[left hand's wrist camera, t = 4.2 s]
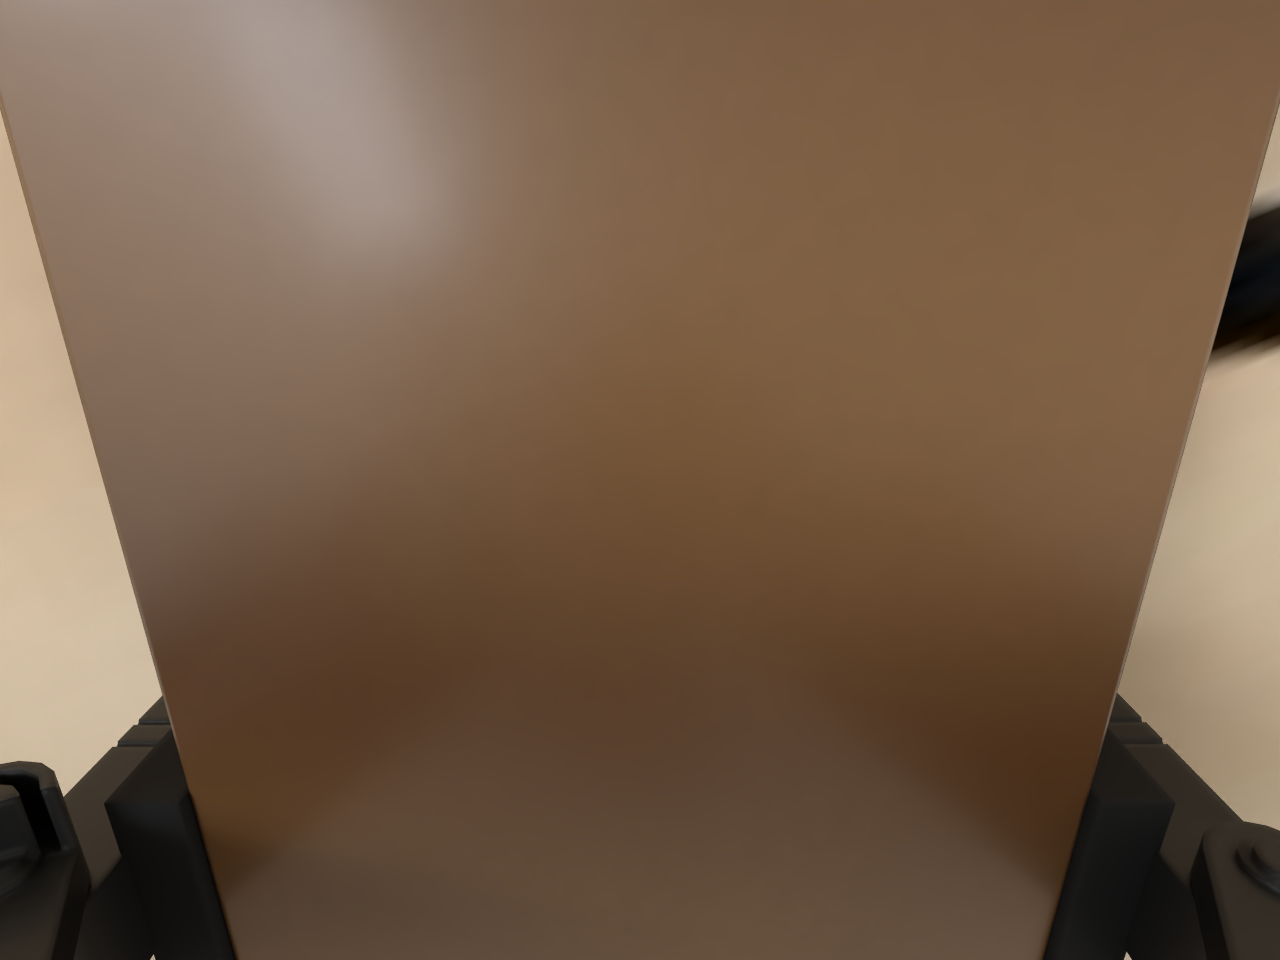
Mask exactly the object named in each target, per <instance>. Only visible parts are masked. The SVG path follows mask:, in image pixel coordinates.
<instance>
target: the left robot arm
mask: <svg viewBox="0 0 1280 960" xmlns="http://www.w3.org/2000/svg"><path fill="white" fill-rule="evenodd" d="M1126 951H1127V953H1128V954H1129V956H1130V957H1131V959H1132V960H1280V831H1279V830H1276V829H1274V828H1271V827H1269V826H1266V825H1260V824H1255V823H1250V822H1244V821H1242V820H1241V819H1240V818H1239V817H1238V816H1237V814H1236V813H1235V812H1234V811H1233V810H1232V809H1231V808H1230V807H1229V806H1228V805H1227V804H1226V803H1225V802H1224V801H1223V800H1222V799H1221V798H1220V797H1219V796H1218V795H1217V794H1216V793H1215V792H1214V791H1213V790H1212V789H1211V788H1210V787H1209V786H1208V785H1207V784H1206V783H1205V782H1204V781H1203V780H1202V779H1201V778H1200V777H1199V776H1198V775H1197V774H1196V773H1195V772H1194V771H1193V770H1192V769H1191V768H1190V767H1189V766H1188V765H1187V764H1186V763H1185V761H1184V760H1183V759H1182V758H1181V757H1180V756H1179V755H1178V754H1177V753H1176V752H1175V751H1174V750H1173V749H1172V748H1171V747H1170V746H1169V745H1168V744H1163V742H1162V738H1161V737H1160V736H1159V735H1158V734H1157V733H1156V732H1155V731H1154V730H1153V729H1152V728H1151V727H1150V726H1149V725H1148V724H1147V723H1146V722H1142V721H1141V717H1140V716H1139V715H1138V714H1137V713H1136V712H1135V710H1134V709H1133V708H1132V707H1131V706H1130V705H1129V704H1128V703H1127V702H1126V701H1125V700H1124V699H1123V698H1122V697H1121V696H1120V695H1119V694H1118V693H1117V694H1116V698H1115V701H1114V705H1113V709H1112V712H1111V716H1110V719H1109V723H1108V727H1107V730H1106V734H1105V738H1104V741H1103V745H1102V748H1101V752H1100V756H1099V759H1098V763H1097V767H1096V770H1095V774H1094V777H1093V781H1092V785H1091V788H1090V792H1089V796H1088V799H1087V803H1086V806H1085V810H1084V814H1083V817H1082V821H1081V825H1080V828H1079V832H1078V835H1077V839H1076V843H1075V846H1074V850H1073V854H1072V857H1071V861H1070V864H1069V868H1068V872H1067V875H1066V879H1065V882H1064V886H1063V890H1062V893H1061V897H1060V901H1059V904H1058V908H1057V911H1056V915H1055V919H1054V922H1053V926H1052V930H1051V933H1050V937H1049V940H1048V944H1047V948H1046V951H1045V955H1044V959H1043V960H1124V957H1125V954H1126ZM153 954H154V956H155V959H156V960H236V958H235V954H234V951H233V947H232V944H231V940H230V936H229V933H228V929H227V925H226V922H225V918H224V915H223V911H222V907H221V904H220V900H219V897H218V893H217V889H216V886H215V882H214V879H213V875H212V871H211V868H210V864H209V861H208V857H207V853H206V850H205V846H204V843H203V839H202V835H201V832H200V828H199V824H198V821H197V817H196V814H195V810H194V806H193V803H192V799H191V796H190V792H189V788H188V785H187V781H186V778H185V774H184V770H183V767H182V763H181V760H180V756H179V752H178V749H177V745H176V741H175V738H174V734H173V731H172V727H171V723H170V720H169V716H168V713H167V709H166V705H165V702H164V698H163V696H162V697H161V698H160V699H159V700H158V701H157V702H156V703H155V704H154V705H153V706H152V707H151V708H150V709H149V710H148V711H147V712H146V713H145V714H144V715H143V716H142V717H141V718H140V719H139V724H138V725H133V726H132V727H131V728H130V730H129V731H128V732H127V733H126V734H125V735H124V736H123V737H122V738H121V739H120V740H119V741H118V745H117V747H112V748H111V749H110V750H109V751H108V752H107V753H106V754H105V755H104V756H103V757H102V758H101V759H100V760H99V761H98V762H97V763H96V764H95V765H94V766H93V767H92V769H91V770H90V771H89V772H88V773H87V774H86V775H85V776H84V777H83V778H82V779H81V780H80V781H79V782H78V783H77V784H76V785H75V786H74V787H73V788H72V789H71V790H70V791H69V792H68V793H67V794H66V795H65V796H64V797H63V795H62V792H61V789H60V786H59V784H58V781H57V778H56V775H55V772H54V771H53V770H51V769H50V768H48V767H47V766H45V765H44V764H42V763H37V762H25V761H16V762H11V763H5V764H0V960H150V959H151V957H152V956H153Z"/></svg>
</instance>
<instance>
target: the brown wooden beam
mask: <svg viewBox="0 0 1280 960" xmlns="http://www.w3.org/2000/svg"><path fill="white" fill-rule="evenodd" d="M1279 104H1280V0H0V110H1V114H2V117H3V121H4V124H5V128H6V132H7V135H8V139H9V143H10V146H11V150H12V153H13V157H14V161H15V164H16V168H17V171H18V175H19V179H20V182H21V186H22V189H23V193H24V197H25V200H26V204H27V207H28V211H29V215H30V218H31V222H32V226H33V229H34V233H35V236H36V240H37V244H38V247H39V251H40V254H41V258H42V262H43V265H44V269H45V272H46V276H47V280H48V283H49V287H50V290H51V294H52V298H53V301H54V305H55V308H56V312H57V316H58V319H59V323H60V327H61V330H62V334H63V337H64V341H65V345H66V348H67V352H68V355H69V359H70V363H71V366H72V370H73V373H74V377H75V381H76V384H77V388H78V391H79V395H80V399H81V402H82V406H83V410H84V413H85V417H86V420H87V424H88V428H89V431H90V435H91V438H92V442H93V446H94V449H95V453H96V456H97V460H98V464H99V467H100V471H101V474H102V478H103V482H104V485H105V489H106V493H107V496H108V500H109V503H110V507H111V511H112V514H113V518H114V521H115V525H116V529H117V532H118V536H119V539H120V543H121V547H122V550H123V554H124V557H125V561H126V565H127V568H128V572H129V575H130V579H131V583H132V586H133V590H134V594H135V597H136V601H137V604H138V608H139V612H140V615H141V619H142V622H143V626H144V630H145V633H146V637H147V640H148V644H149V648H150V651H151V655H152V658H153V662H154V666H155V669H156V673H157V677H158V680H159V684H160V687H161V691H162V695H163V698H164V702H165V705H166V709H167V713H168V716H169V720H170V723H171V727H172V731H173V734H174V738H175V741H176V745H177V749H178V752H179V756H180V760H181V763H182V767H183V770H184V774H185V778H186V781H187V785H188V788H189V792H190V796H191V799H192V803H193V806H194V810H195V814H196V817H197V821H198V824H199V828H200V832H201V835H202V839H203V843H204V846H205V850H206V853H207V857H208V861H209V864H210V868H211V871H212V875H213V879H214V882H215V886H216V889H217V893H218V897H219V900H220V904H221V907H222V911H223V915H224V918H225V922H226V925H227V929H228V933H229V936H230V940H231V944H232V947H233V951H234V954H235V958H236V960H1043V959H1044V955H1045V951H1046V948H1047V944H1048V940H1049V937H1050V933H1051V930H1052V926H1053V922H1054V919H1055V915H1056V911H1057V908H1058V904H1059V901H1060V897H1061V893H1062V890H1063V886H1064V882H1065V879H1066V875H1067V872H1068V868H1069V864H1070V861H1071V857H1072V854H1073V850H1074V846H1075V843H1076V839H1077V835H1078V832H1079V828H1080V825H1081V821H1082V817H1083V814H1084V810H1085V806H1086V803H1087V799H1088V796H1089V792H1090V788H1091V785H1092V781H1093V777H1094V774H1095V770H1096V767H1097V763H1098V759H1099V756H1100V752H1101V748H1102V745H1103V741H1104V738H1105V734H1106V730H1107V727H1108V723H1109V719H1110V716H1111V712H1112V709H1113V705H1114V701H1115V698H1116V694H1117V691H1118V687H1119V683H1120V680H1121V676H1122V672H1123V669H1124V665H1125V662H1126V658H1127V654H1128V651H1129V647H1130V643H1131V640H1132V636H1133V633H1134V629H1135V625H1136V622H1137V618H1138V614H1139V611H1140V607H1141V604H1142V600H1143V596H1144V593H1145V589H1146V585H1147V582H1148V578H1149V575H1150V571H1151V567H1152V564H1153V560H1154V557H1155V553H1156V549H1157V546H1158V542H1159V538H1160V535H1161V531H1162V528H1163V524H1164V520H1165V517H1166V513H1167V509H1168V506H1169V502H1170V499H1171V495H1172V491H1173V488H1174V484H1175V480H1176V477H1177V473H1178V470H1179V466H1180V462H1181V459H1182V455H1183V451H1184V448H1185V444H1186V441H1187V437H1188V433H1189V430H1190V426H1191V423H1192V419H1193V415H1194V412H1195V408H1196V404H1197V401H1198V397H1199V394H1200V390H1201V386H1202V383H1203V379H1204V375H1205V372H1206V368H1207V365H1208V361H1209V357H1210V354H1211V350H1212V346H1213V343H1214V339H1215V336H1216V332H1217V328H1218V325H1219V321H1220V317H1221V314H1222V310H1223V307H1224V303H1225V299H1226V296H1227V292H1228V289H1229V285H1230V281H1231V278H1232V274H1233V270H1234V267H1235V263H1236V260H1237V256H1238V252H1239V249H1240V245H1241V241H1242V238H1243V234H1244V231H1245V227H1246V223H1247V220H1248V216H1249V212H1250V209H1251V205H1252V202H1253V198H1254V194H1255V191H1256V187H1257V183H1258V180H1259V176H1260V173H1261V169H1262V165H1263V162H1264V158H1265V155H1266V151H1267V147H1268V144H1269V140H1270V136H1271V133H1272V129H1273V126H1274V122H1275V118H1276V115H1277V111H1278V107H1279Z"/></svg>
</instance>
